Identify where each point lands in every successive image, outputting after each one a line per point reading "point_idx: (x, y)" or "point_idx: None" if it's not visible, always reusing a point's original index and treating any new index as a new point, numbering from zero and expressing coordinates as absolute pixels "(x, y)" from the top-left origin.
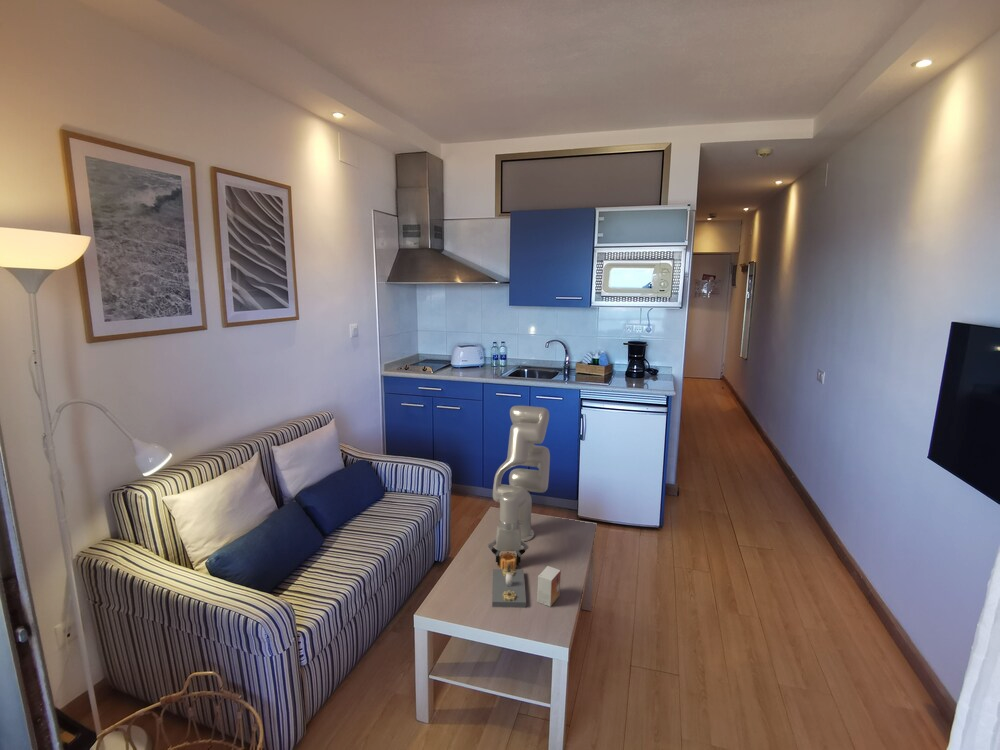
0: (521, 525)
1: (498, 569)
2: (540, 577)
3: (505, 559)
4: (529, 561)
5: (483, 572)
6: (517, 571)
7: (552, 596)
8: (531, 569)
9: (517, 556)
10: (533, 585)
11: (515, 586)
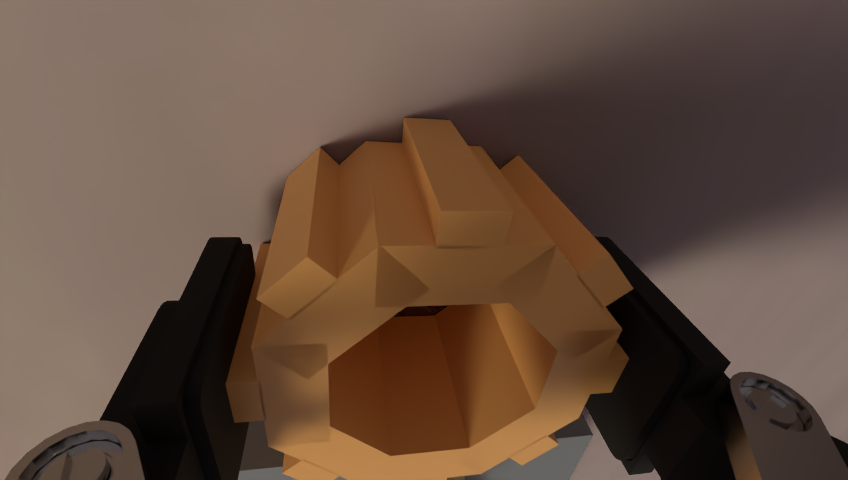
0: None
1: (265, 472)
2: None
3: (378, 448)
4: (774, 138)
5: (45, 401)
6: (513, 466)
7: None
8: (690, 306)
9: (637, 447)
10: (592, 477)
11: None
